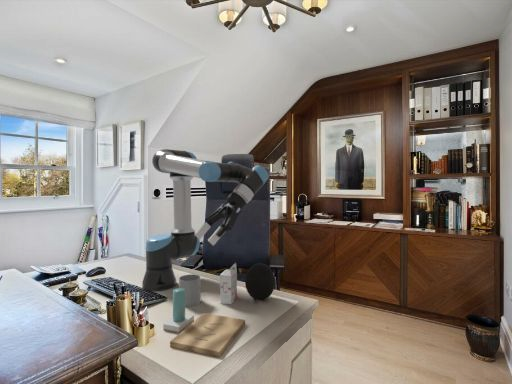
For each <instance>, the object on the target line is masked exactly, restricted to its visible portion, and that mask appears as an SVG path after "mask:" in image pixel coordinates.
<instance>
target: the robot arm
mask: <svg viewBox="0 0 512 384" xmlns="http://www.w3.org/2000/svg"><path fill="white" fill-rule="evenodd" d="M151 161H152V162H151V163H152V165H153V168H154V169H155V170H156V171H157V172H159V173H163V174H169V178H170V179H171V180H172V188H173V189H172V190H173V191H172V193H173V194H172V195H173V229H171V232H170V233H162V234H155V235H152V236H150V237H148V239H147V240H146V243H145V260H146V262H145V265H146V266H145V267H146V269H145V272H144V275H143V280H142V283H141V284H142V285H141V286H142V289H143V288H144V289H143V290H145V289H147V290H146V291H149V290H150V292H151V291H152V292H159V291H164V290H165V291H166V290H169V289H172V288H174V287H175V286H176V285H177V279H176V276H175V273H174V270H173V261H176V260H180V259H184V258H187V259H188V258H189V257H192V256H195V255H196V254H197V253H198V252H199V249H200V244H201V242H200V240H201V239H202V238H203V237H204V235H206V233H207V232H208V231H209V230H210V229H211V228H212V227H213V225H214V224H216V223H217V222H218V221H219V220H221V219H223V221H222V222H221V224H220V225H219V226H218V227H217V229H216V230H215V231H214V232H213V234H212V235H211V236H210V237H208V239H207V241H208V243H210V244H211V246H215V245H216V244H217V243H218V242H219V240H220V239H221V238H222V236H223V235H224V234H225V233H226V232H228V231H232V229H233V227H234V226H235V223H236V221H237V219H238V217H239V216H240V214H241V212H242V211H243V209H245V207H246V206H247V204H249V202H250V201H252V199H253V197H254V196H255V195H256V194H257V193H258V192H259V190H261V188H262V187H263V186H264V185H265V183H266V182H267V180H268V179H269V177H270V176H269V172H268V171H267V169H266V168H264V166H261V165H259V164H258V165H254V167H252V168H249V167H247V166H244V165H242V164H239V163H238V162H234V161H228V162H215V161H209V160H204V159H198V158H197V157H196V156H195V154H194V153H193V152H190V151H186V150H178V149H168V148H166V149H165V148H164V149H160V150H157V151H156V152H155V153H154V154H153V156H152V159H151ZM193 178H198V179H201V180H202V181H204V182H207V183H208V182H209V183H215V182H216V183H217V182H221V183H222V182H223V183H236V184H238V185H237V186H236V187H235V188H234V189H233V191H231V193H230V194H229V195H228V196H227V197H226V201H227V203H226V204H224V203H222V204H221V205H220V206H219V207H218V208H216V210H215V211H213V212H212V213H211V214H210V215H208V216H207V217H206V218H205V219H204V220H205V222H204V223H203V224H202V226H201V227H200V228H199V229H198V231H196V232H195V229H194V228H193V227H192V191H191V186H192V185H191V184H192V183H191V181H192V179H193Z"/></svg>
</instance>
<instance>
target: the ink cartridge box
mask: <svg viewBox="0 0 512 384" xmlns="http://www.w3.org/2000/svg"><path fill="white" fill-rule="evenodd" d="M237 289H238V271H237V262H234V263H233V264H232V265H231V267H229V269H228V268H227V269H224V270H223V271H222V272H221V273H220V274H219V293H220V294H219V296H220V305H221V304H222V305H232V304H233V302H234V301H235V300H236V298H237V297H238V290H237Z"/></svg>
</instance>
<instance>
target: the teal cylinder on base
mask: <svg viewBox="0 0 512 384" xmlns="http://www.w3.org/2000/svg"><path fill="white" fill-rule="evenodd" d="M194 315H195V314H190V313H186V306H185V289H183V288H179V287H177V288H175V289H173V290H172V317H171V318H170V319H169V320H167V321H166V322H164V323H163V325H162V329H163V331H166V332H171V333H175V334H176V333H177V334H180V333H181V332H182V331H183V330H184V329H185V328H187V327H188V326H189V325H190V324H191V323H193V322H194V321H195V316H194Z"/></svg>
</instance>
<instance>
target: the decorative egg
mask: <svg viewBox="0 0 512 384" xmlns="http://www.w3.org/2000/svg"><path fill="white" fill-rule="evenodd" d="M275 278H276V277H275V274H274V272H273V270H272V268H271V267H270V266H268V264H265V263H263V262H258V263H257V262H256V263H254V264H253V265H251V266H250V267H249V269H248V270H247V271H246V274H245V279H244V282H245V289H246V292H247V293H248V295H249V296H250V297H251V298H252V299H253V300H255V301H265V300H266V299H268V298H270V297H271V295H272V293H274V290H275V286H276V279H275Z"/></svg>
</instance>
